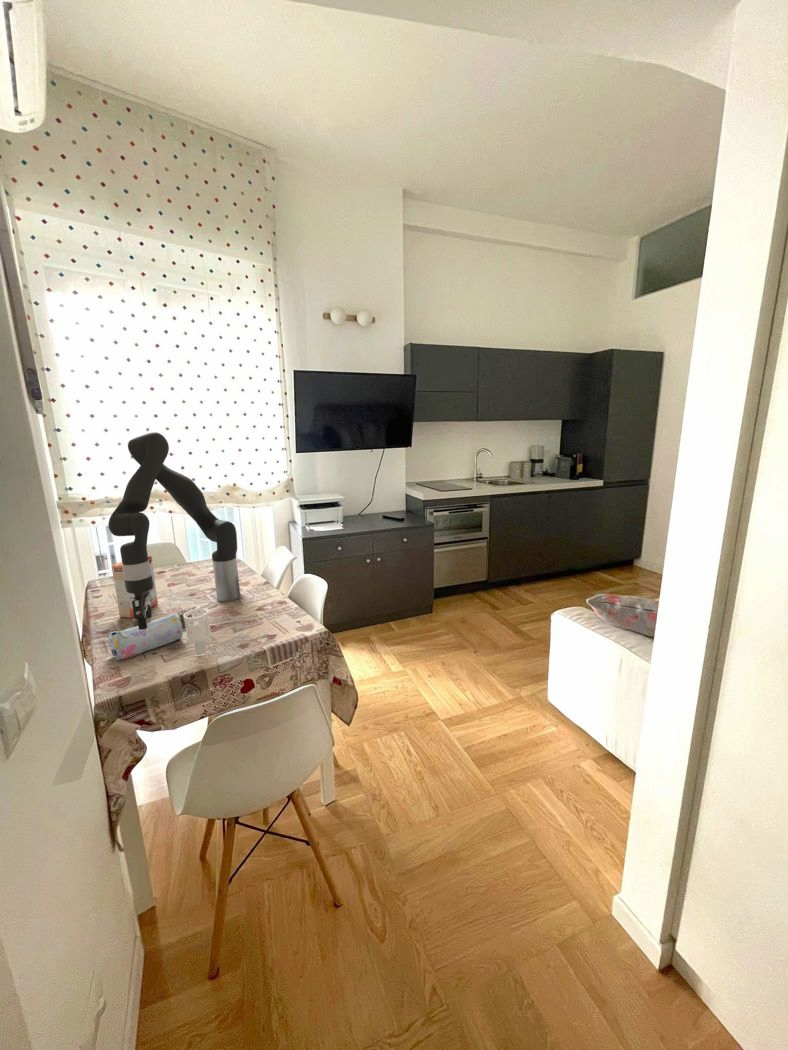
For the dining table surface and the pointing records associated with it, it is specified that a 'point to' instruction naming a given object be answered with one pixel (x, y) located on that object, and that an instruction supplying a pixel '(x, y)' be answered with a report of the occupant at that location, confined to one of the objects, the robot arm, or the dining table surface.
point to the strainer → (198, 629)
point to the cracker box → (127, 598)
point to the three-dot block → (135, 622)
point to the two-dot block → (180, 614)
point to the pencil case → (145, 637)
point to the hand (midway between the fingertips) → (145, 623)
